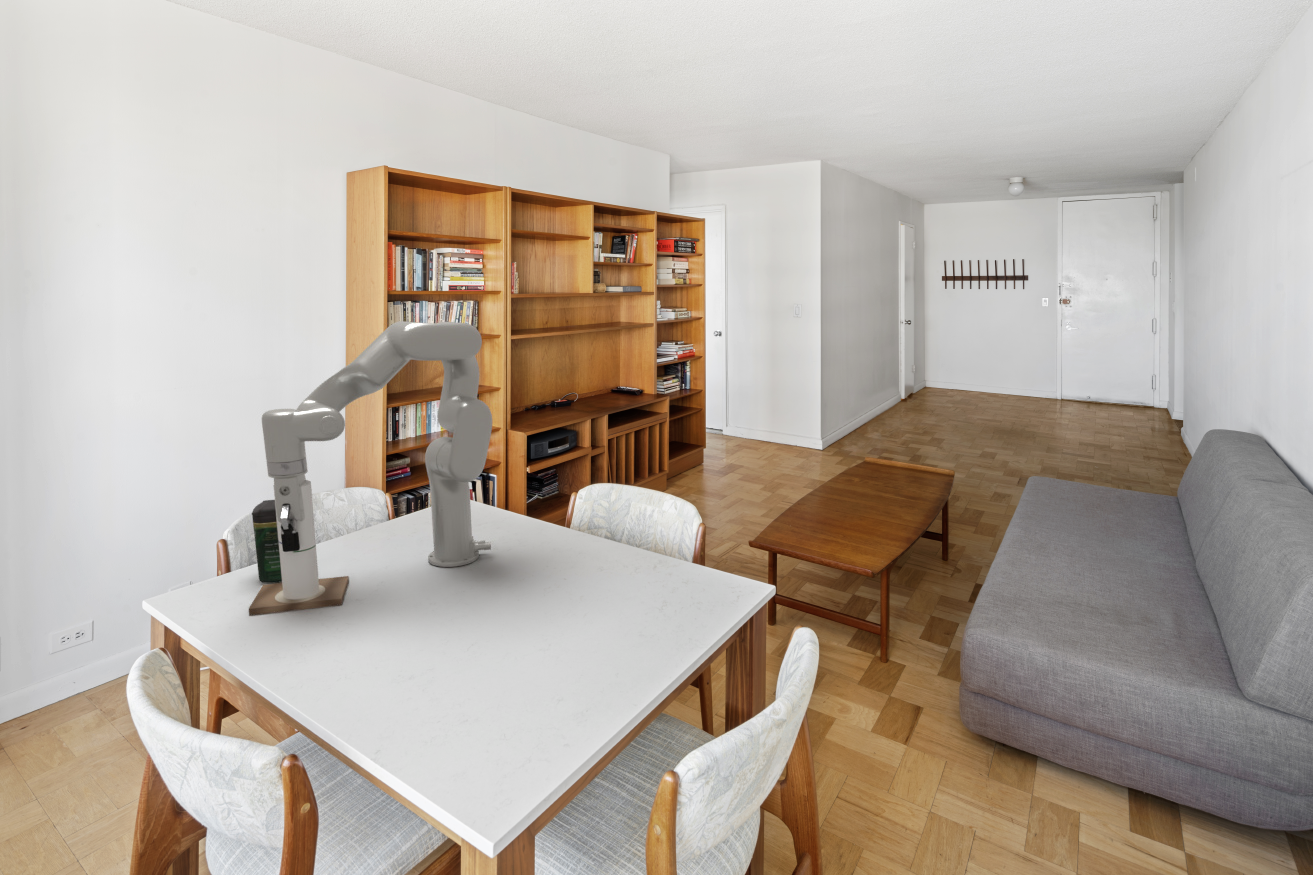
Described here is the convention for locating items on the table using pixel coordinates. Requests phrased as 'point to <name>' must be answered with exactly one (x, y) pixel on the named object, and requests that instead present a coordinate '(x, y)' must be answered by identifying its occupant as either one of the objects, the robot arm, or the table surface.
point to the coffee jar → (267, 542)
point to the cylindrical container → (300, 554)
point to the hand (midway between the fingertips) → (296, 542)
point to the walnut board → (274, 600)
